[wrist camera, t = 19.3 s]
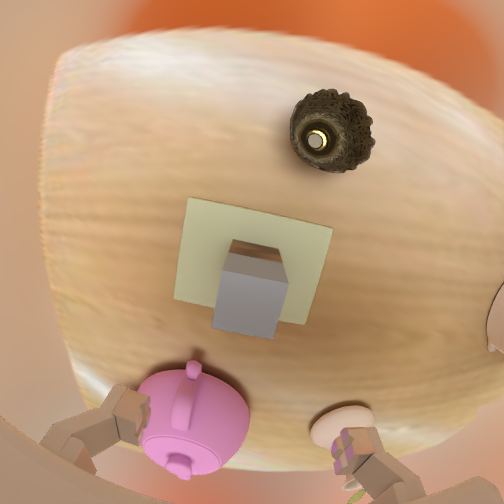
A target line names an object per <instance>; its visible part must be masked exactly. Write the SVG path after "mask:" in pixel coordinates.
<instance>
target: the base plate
mask: <svg viewBox="0 0 504 504" xmlns="http://www.w3.org/2000/svg"><path fill="white" fill-rule="evenodd" d="M333 230H334V229H333V228H331V227H328V226H324V225H320V224H316V223H311V222H307V221H303V220H299V219H294V218H290V217H286V216H281V215H277V214H272V213H268V212H263V211H259V210H254V209H250V208H245V207H240V206H235V205H230V204H225V203H220V202H215V201H210V200H205V199H200V198H195V197H188V202H187V208H186V213H185V219H184V225H183V232H182V238H181V245H180V252H179V259H178V266H177V274H176V282H175V290H174V299H176V300H180V301H185V302H189V303H193V304H198V305H202V306H206V307H211V308H215V305H216V300H217V294H218V289H219V284H220V278H221V273H222V269H223V266H224V263H225V260H226V257H227V255H228V252H229V249H230V246H231V243H232V240H233V239H235V240H240V241H244V242H249V243H254V244H259V245H263V246H268V247H273V248H277V249H279V252H280V255H281V258H282V261H283V266H284V269H285V272H286V276H287V279H288V282H289V286H288V289H287V293H286V297H285V300H284V304H283V307H282V310H281V314H280V317H279V321H283V322H288V323H294V324H301V325H305V323H306V320H307V317H308V314H309V311H310V308H311V304H312V301H313V298H314V295H315V292H316V289H317V286H318V282H319V279H320V276H321V272H322V269H323V266H324V262H325V259H326V255H327V252H328V248H329V245H330V241H331V237H332V234H333Z"/></svg>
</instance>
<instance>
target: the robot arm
mask: <svg viewBox="0 0 504 504" xmlns="http://www.w3.org/2000/svg"><path fill="white" fill-rule="evenodd" d="M487 336H488V346H487V350H488V351H489V352H494V351H497V350H499V351H500V352H502V353H503V354H504V284H503V286H502V287H501V289H500V290H499V292H498V294H497V296H496V298H495V300H494V302H493V305H492V307H491V310H490V313H489V316H488V321H487ZM150 402H151V398H150V396H148V395H145V394H142V393H139V392H137V391H134V390H131V389H129V388H126V387H123V386H121V385H118V384H116V385H115V386H113V388H112V390H111V391H110V393H109V394H108V396H107V397H106V399H105V401H104V402H103V404H102V405H101V407H100V409H98V408H94V409H92V410H89V411H87V412H84V413H82V414H79V415H77V416H74V417H71V418H69V419H66V420H63V421H61V422H57V423H55V424H53V425H52V426H51V428H50V429H49V430H48V432H47V433H46V435H45V436H44V438H43V439H42V440H41V442H40V443H39V444H38V443H37V442H35V441H34V440H32V439H30V438H29V437H28V436H26V435H25V434H24V433H22V432H21V431H19V430H18V429H17V428H15V427H14V426H13V425H11V424H10V423H9V422H7V421H6V420H5V419H4V418H2V416H0V504H174V503H170V502H166V501H162V500H159V499H156V498H153V497H149V496H146V495H143V494H140V493H137V492H135V491H132V490H129V489H126V488H124V487H121V486H119V485H116V484H114V483H111V482H109V481H106V480H104V479H102V478H100V477H98V476H95V474H96V471H97V470H96V468H95V466H94V464H93V462H92V460H91V458H92V457H93V456H95V455H97V454H99V453H100V452H102V451H104V450H105V449H107V448H109V447H111V446H112V445H114V444H115V443H117V442H119V441H120V440H122V441H125V442H128V443H131V444H134V445H136V446H139V445H140V443H141V440H142V438H143V436H144V432H143V429H145V428H147V426H148V423H149V420H150V416H151V408H150V406H149V405H150ZM331 453H332V457H333V458H334V459H336V461H335V462H334V469H335V473H336V475H349V474H353V477H354V478H355V479H356V480H357V481H358V482H359V483H360V485H361V486H362V487H363V488H364V489H365V490H366V491H367V492H368V493H369V495H370V496H371V497H372V498H373V499H374V500H373V501H371V502H370V503H369V504H504V502H503V499H502V497H501V495H500V492H499V490H498V489H497V487H496V486H495V485H494V484H492V483H491V482H489V481H487V480H486V479H484V478H482V477H479V476H477V477H473V478H471V479H469V480H466V481H464V482H462V483H460V484H457V485H455V486H452V487H450V488H448V489H445V490H443V491H440V492H437V493H434V494H431V495H428V496H426V493H425V490H424V488H423V485H422V482H421V480H420V477H419V476H417V475H416V474H415V473H413V472H412V471H411V470H409V469H408V468H407V467H406V466H404V465H403V464H402V463H400V462H399V461H398V460H397V459H395V458H394V457H393V456H392V455H390V454H389V453H388V452H387V453H385V451H384V448H383V445H382V442H381V440H380V437H379V434H378V432H377V429H376V428H375V427H345V428H343V429H342V430H341V431H340V436H338V437H337V438H335V440H334V441H333V443H332V447H331Z"/></svg>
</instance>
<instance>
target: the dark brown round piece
mask: <svg viewBox="0 0 504 504" xmlns="http://www.w3.org/2000/svg"><path fill="white" fill-rule="evenodd" d="M372 124H373V121H372V118H371V117H370V116H367V110H366V108H365V106H364V105H363V103H362V102H360V101H357V100H353V99H351V97H350V95H349V94H348V93H347V92H345V93H343V94H340V95H338V92H337V90H335V89H328V90H327V91H326V90H325V89H322V90H320V91H318V92H315V93H314V94H313V95H312V94H307V95H306V97H305V98H304V99H303V100H301V101H299V102H298V103H297V105H296V106H295V108H294V111H293V113H292V117H291V119H290V138H291V143H292V146H293V148H294V150H295V152H296V153H297V154H298V156H299V157H300V158H301V159H302V160H303V161H305V162H306V163H307V164H309V165H311V166H313V167H315V168H317V169H321V170H323V171H327V172H332V173H334V172H335V173H344V172H345V171H346V170H355V169H356V168H357V167H356V166H357V165H359V164H361V163H364V162H365V161H367V160H368V159H369V157H370V154H371V148H373V146H374V145H375V139H373V138H372V137H371V130H370V125H372ZM312 134H318V135H320V136H321V138H322V141H323V142H322V145H321V146H320V147H319V148H313V147H311V146H310V145H309V143H308V138H309V136H310V135H312ZM371 138H372V139H371Z"/></svg>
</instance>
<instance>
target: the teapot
mask: <svg viewBox="0 0 504 504" xmlns="http://www.w3.org/2000/svg"><path fill="white" fill-rule="evenodd" d="M201 371H202V365H201V364H200V363H199V362H197V361H195V360H191V361H188V362H187V366H186V370H182V369H179V370H168V371H162V372H159V373H156V374H154V375H151V376H150V377H148V378H147V379H146V380H144V381H143V382H142V383H141V385H140V387H139V389H138V391H137V392H139V393H142V394H145V395H148V396H150V398H151V402H150V405H149V406H150V408H151V416H150V420H149V423H148V426H147V428H145V429H143V432H144V436H143V438H142V440H141V445H142V447H143V450H144V451H145V453H146V454H147V455H148V457H149V458H150V459H152V460H153V461H154V462H155V463H157V464H159V465H160V466H162V467H164V468H165V469H166V470H168V471H169V472H171V473H173V474H176V475H177V477H178V478H180V479H183V480H190V479H191V476H192V475H204V474H208V473H212V472H214V471H216V470H218V469H219V468H220V467H222V466H223V465H224V464H225V463H226V462H227V461H228V460H229V459H230V458H231V457H232V456H233V455H234V454H235V453H236V452H237V451H238V450H239V448H240V447H241V445H242V443H243V442H244V440H245V437H246V434H247V432H248V428H249V423H250V412H249V409H248V406H247V404H246V402H245V400H244V399H243V398H242V396H241V395H240V394H239V393H238V392H237V391H236V390H235V389H233V388H232V387H231V386H230V385H228V384H227V383H225V382H223V381H222V380H220V379H218V378H216V377H214V376H211V375H209V374H206V373H203V372H201Z"/></svg>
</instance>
